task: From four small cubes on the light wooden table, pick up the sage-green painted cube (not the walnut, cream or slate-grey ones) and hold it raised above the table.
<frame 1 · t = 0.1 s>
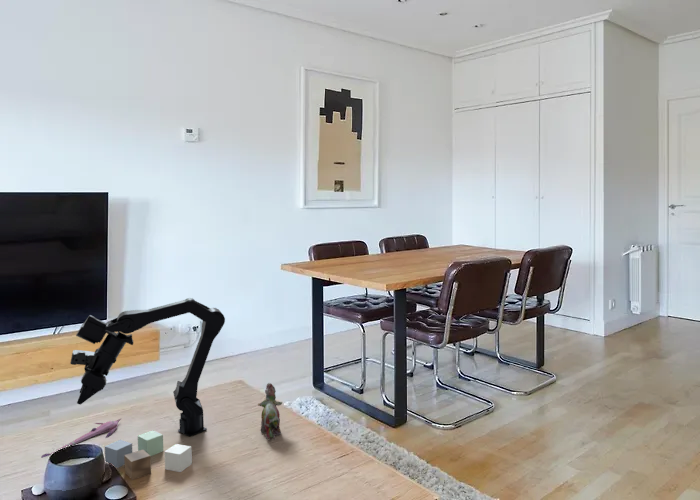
hand: (79, 398, 162), 15 cm above the table, tool tilted 30°, fingers open, 9 cm apart
sage block: (150, 452, 160), on the table
slate block: (119, 462, 154), on the table
toy: (85, 440, 169), on the table
cream block: (178, 466, 151), on the table
walnut block: (138, 473, 148), on the table
figurine: (269, 434, 172), on the table
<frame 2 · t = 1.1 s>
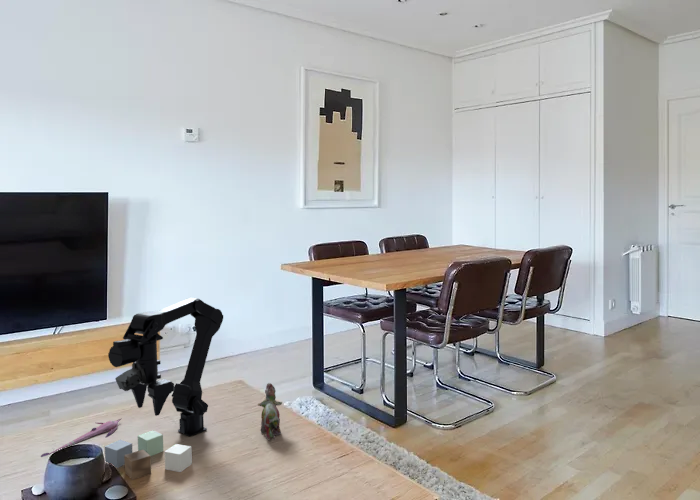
hand: (148, 411, 159), 12 cm above the table, tool pointing down, fingers open, 9 cm apart
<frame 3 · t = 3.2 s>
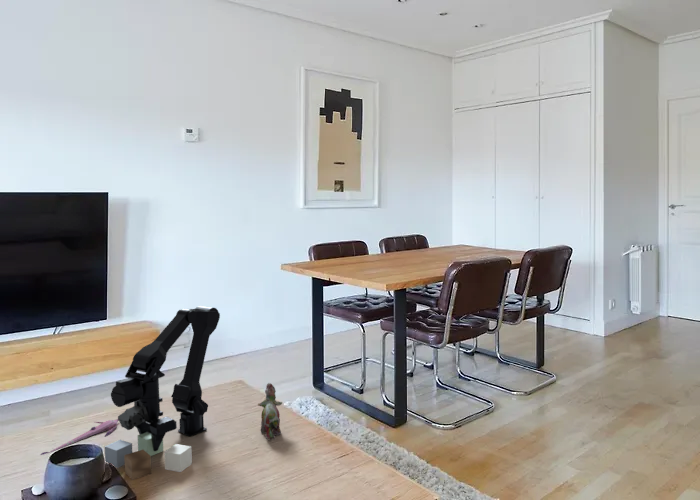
hand: (150, 448, 160), 1 cm above the table, tool pointing down, fingers closed on sage block, 5 cm apart
sage block: (150, 451, 160), on the table, touching gripper
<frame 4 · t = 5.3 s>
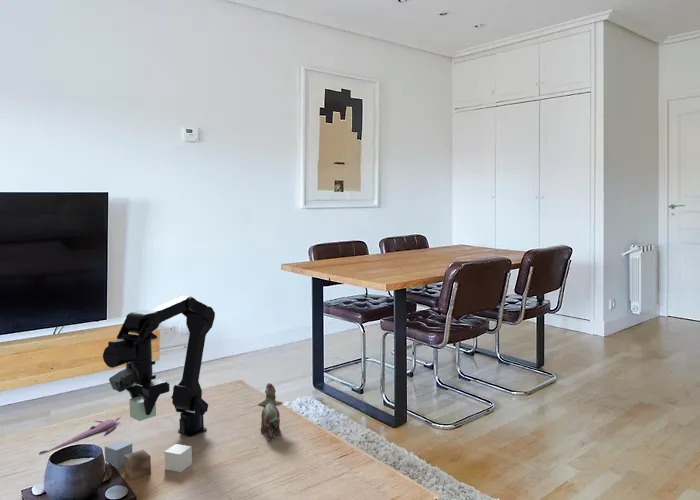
hand: (143, 412, 156), 13 cm above the table, tool pointing down, fingers closed on sage block, 5 cm apart
sage block: (143, 416, 156), point 12 cm above the table, touching gripper
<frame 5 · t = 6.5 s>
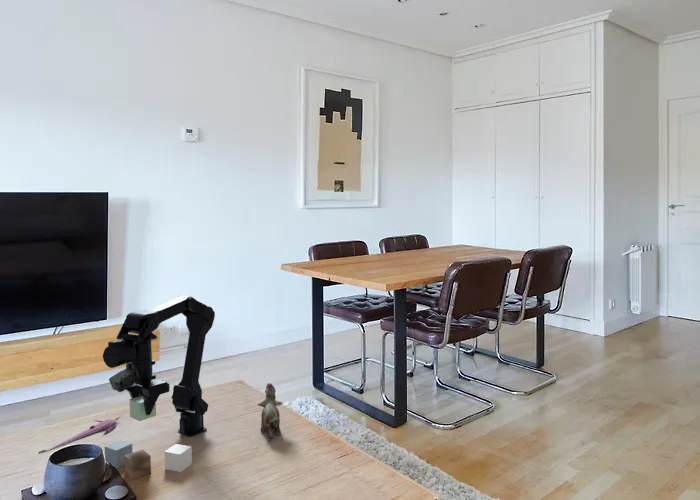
hand: (143, 412, 155), 13 cm above the table, tool pointing down, fingers closed on sage block, 5 cm apart
sage block: (143, 416, 156), point 12 cm above the table, touching gripper
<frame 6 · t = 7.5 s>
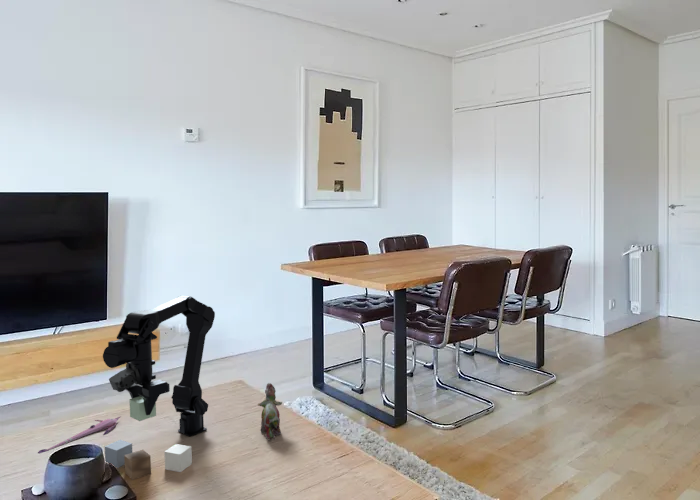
hand: (143, 412, 155), 13 cm above the table, tool pointing down, fingers closed on sage block, 5 cm apart
sage block: (143, 416, 156), point 12 cm above the table, touching gripper
at the end: the gripper is holding sage block; sage block point 11.9 cm above the table; slate block moved 0.1 cm from its start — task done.
